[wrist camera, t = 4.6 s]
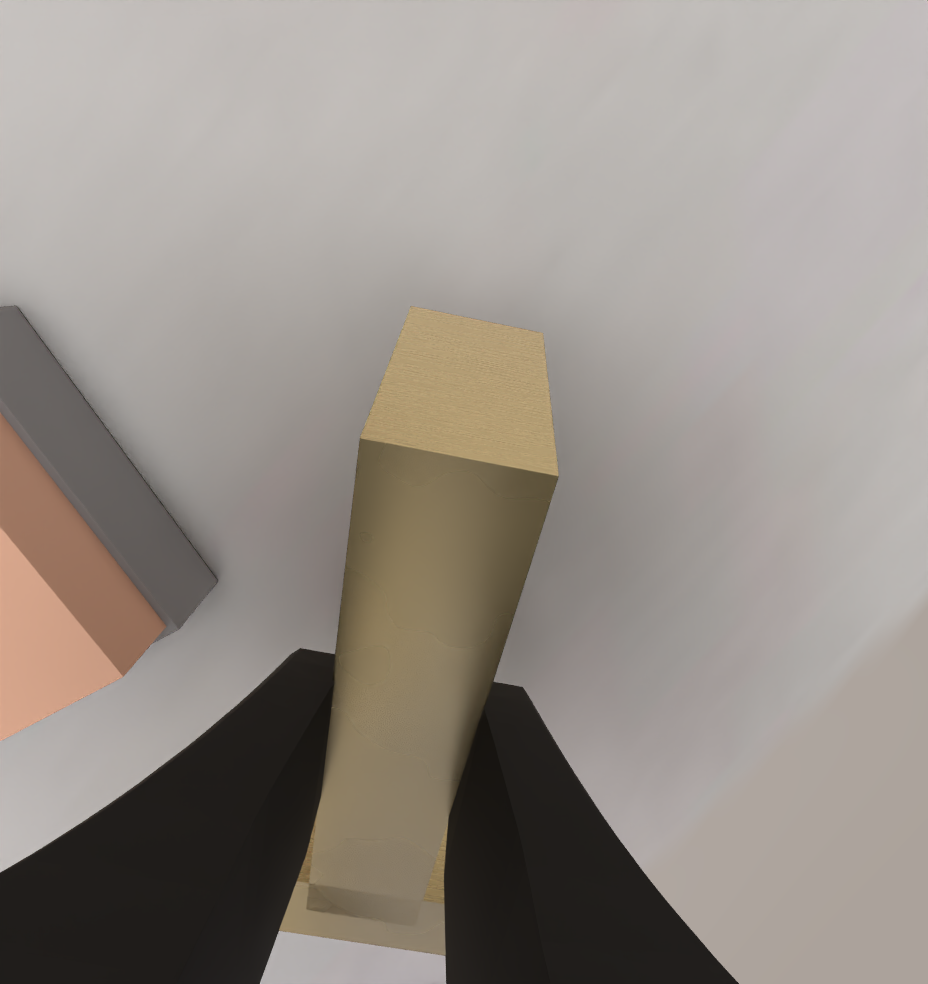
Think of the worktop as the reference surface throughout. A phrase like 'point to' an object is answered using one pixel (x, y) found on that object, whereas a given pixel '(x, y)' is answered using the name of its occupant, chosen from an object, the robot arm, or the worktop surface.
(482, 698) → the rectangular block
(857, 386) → the worktop surface
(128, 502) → the housing
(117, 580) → the cover
